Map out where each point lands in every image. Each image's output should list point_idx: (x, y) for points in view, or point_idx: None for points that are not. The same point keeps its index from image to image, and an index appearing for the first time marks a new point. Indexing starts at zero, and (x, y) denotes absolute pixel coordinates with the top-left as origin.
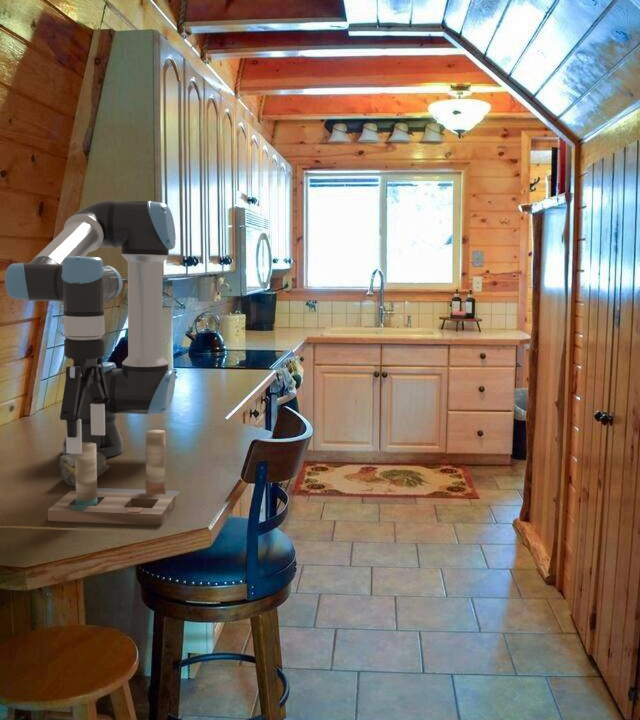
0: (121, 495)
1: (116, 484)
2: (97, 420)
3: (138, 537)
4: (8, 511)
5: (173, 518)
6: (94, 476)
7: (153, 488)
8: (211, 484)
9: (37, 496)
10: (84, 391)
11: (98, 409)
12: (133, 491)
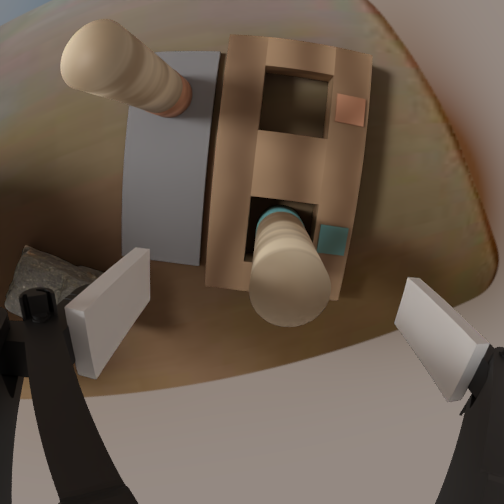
0: (236, 158)
1: (87, 208)
2: (125, 302)
3: (416, 105)
4: (265, 367)
5: (311, 41)
6: (297, 226)
7: (185, 91)
8: (89, 17)
9: (177, 342)
10: (495, 461)
11: (101, 324)
12: (138, 154)
